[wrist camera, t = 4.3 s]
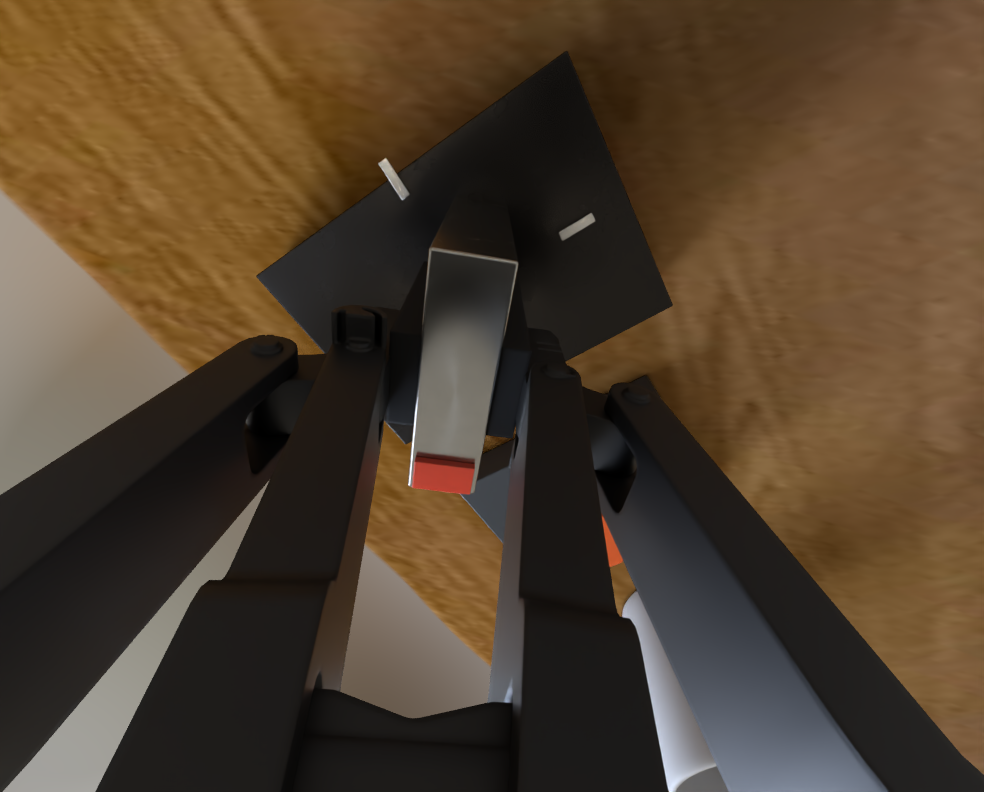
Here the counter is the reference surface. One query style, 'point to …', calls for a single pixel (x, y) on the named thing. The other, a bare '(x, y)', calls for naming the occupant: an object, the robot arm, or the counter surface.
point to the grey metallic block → (461, 343)
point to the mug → (673, 714)
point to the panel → (532, 212)
